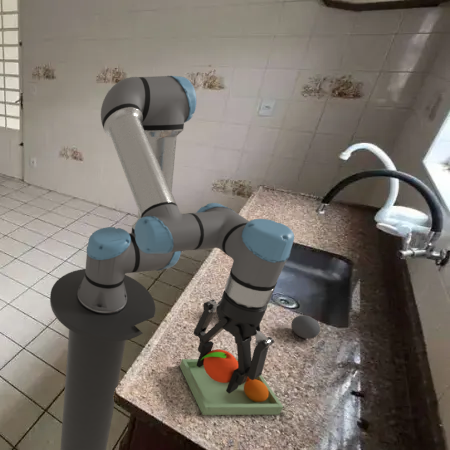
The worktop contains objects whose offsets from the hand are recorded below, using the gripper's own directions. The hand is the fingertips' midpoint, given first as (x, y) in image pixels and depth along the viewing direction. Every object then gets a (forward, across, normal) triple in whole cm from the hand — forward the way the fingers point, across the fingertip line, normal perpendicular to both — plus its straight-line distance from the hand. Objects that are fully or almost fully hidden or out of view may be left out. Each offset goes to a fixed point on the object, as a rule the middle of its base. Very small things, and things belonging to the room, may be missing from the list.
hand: (216, 376), depth 78 cm
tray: (+4, -2, -3) cm, 6 cm away
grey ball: (+1, 0, -36) cm, 36 cm away
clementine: (0, 0, 0) cm, 1 cm away
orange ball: (+2, -6, -6) cm, 9 cm away
